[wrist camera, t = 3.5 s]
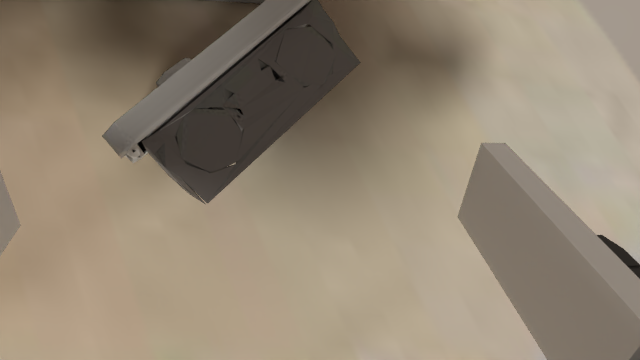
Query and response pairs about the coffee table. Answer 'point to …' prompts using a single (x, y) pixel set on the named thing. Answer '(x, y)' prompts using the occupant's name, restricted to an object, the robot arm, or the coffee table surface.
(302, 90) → the electrical switch
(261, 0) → the housing
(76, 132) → the coffee table surface
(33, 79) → the coffee table surface
